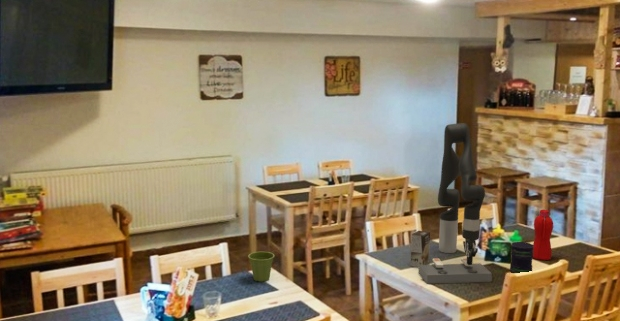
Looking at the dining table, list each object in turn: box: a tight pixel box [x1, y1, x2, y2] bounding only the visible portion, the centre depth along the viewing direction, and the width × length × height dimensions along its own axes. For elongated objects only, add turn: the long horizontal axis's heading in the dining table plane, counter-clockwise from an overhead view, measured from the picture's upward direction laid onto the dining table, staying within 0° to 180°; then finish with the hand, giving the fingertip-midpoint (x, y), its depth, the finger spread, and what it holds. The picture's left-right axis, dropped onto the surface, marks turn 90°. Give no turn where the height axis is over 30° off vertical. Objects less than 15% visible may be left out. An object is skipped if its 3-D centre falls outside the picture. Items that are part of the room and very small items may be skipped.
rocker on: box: [460, 257, 474, 266], centre depth 285 cm, size 7×3×1 cm, turn 6°
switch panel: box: [418, 262, 493, 285], centre depth 281 cm, size 14×30×4 cm, turn 96°
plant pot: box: [247, 251, 275, 282], centre depth 276 cm, size 12×12×11 cm
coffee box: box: [409, 230, 431, 268], centre depth 298 cm, size 9×6×16 cm
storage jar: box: [509, 241, 534, 273], centre depth 283 cm, size 10×10×15 cm
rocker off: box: [432, 258, 444, 268], centre depth 283 cm, size 7×3×1 cm, turn 6°
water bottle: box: [532, 209, 554, 261], centre depth 308 cm, size 9×11×25 cm
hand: (469, 264), depth 281 cm, fingers closed
